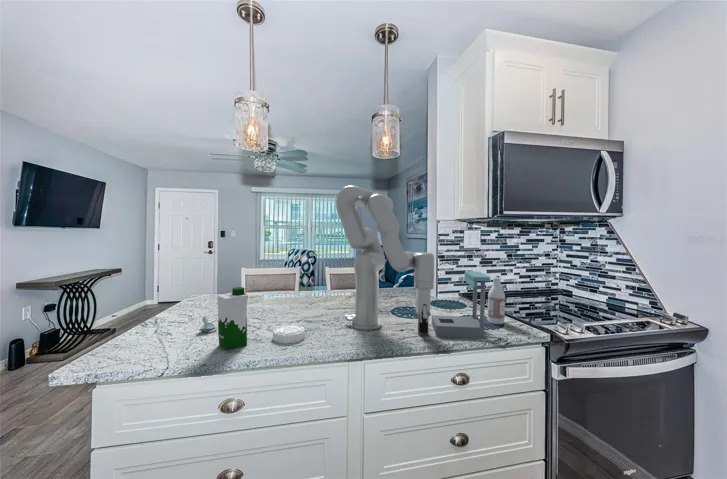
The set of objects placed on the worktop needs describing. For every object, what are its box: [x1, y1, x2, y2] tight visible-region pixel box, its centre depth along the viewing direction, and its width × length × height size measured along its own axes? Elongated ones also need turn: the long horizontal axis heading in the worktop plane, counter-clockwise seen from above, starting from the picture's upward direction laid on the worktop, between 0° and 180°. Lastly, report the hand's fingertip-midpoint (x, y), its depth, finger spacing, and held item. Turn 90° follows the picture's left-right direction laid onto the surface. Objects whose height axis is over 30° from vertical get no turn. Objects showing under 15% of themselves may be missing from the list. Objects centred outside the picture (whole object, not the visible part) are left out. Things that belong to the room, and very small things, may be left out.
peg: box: [417, 313, 430, 337], centre depth 121 cm, size 4×4×10 cm
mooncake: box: [272, 324, 306, 344], centre depth 117 cm, size 12×12×4 cm
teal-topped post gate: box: [464, 270, 491, 328], centre depth 124 cm, size 6×15×24 cm, turn 174°
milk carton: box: [216, 286, 249, 351], centre depth 108 cm, size 9×9×20 cm
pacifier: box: [199, 315, 218, 333], centre depth 123 cm, size 7×6×6 cm
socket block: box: [431, 314, 485, 339], centre depth 125 cm, size 18×14×4 cm
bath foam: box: [487, 276, 506, 325], centre depth 137 cm, size 7×7×20 cm
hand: (423, 330), depth 121 cm, fingers closed on peg, 4 cm apart
